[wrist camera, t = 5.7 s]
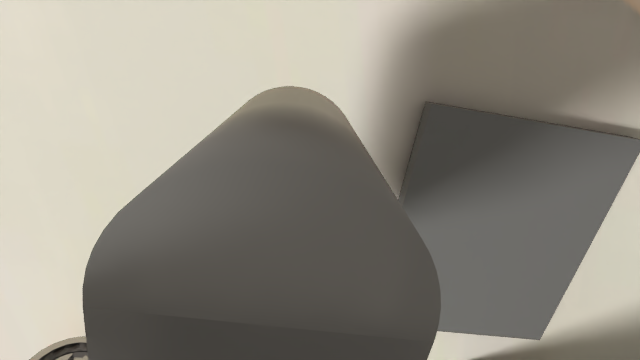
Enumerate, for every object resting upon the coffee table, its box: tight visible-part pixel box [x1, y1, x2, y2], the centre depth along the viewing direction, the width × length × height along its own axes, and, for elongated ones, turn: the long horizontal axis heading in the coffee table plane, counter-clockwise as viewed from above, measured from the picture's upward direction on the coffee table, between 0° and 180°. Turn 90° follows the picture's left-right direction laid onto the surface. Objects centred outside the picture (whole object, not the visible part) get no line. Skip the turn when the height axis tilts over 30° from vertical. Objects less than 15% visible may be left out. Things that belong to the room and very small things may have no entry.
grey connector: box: [83, 86, 441, 360], centre depth 7 cm, size 4×10×9 cm, turn 170°
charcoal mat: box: [398, 102, 640, 340], centre depth 20 cm, size 12×14×1 cm
